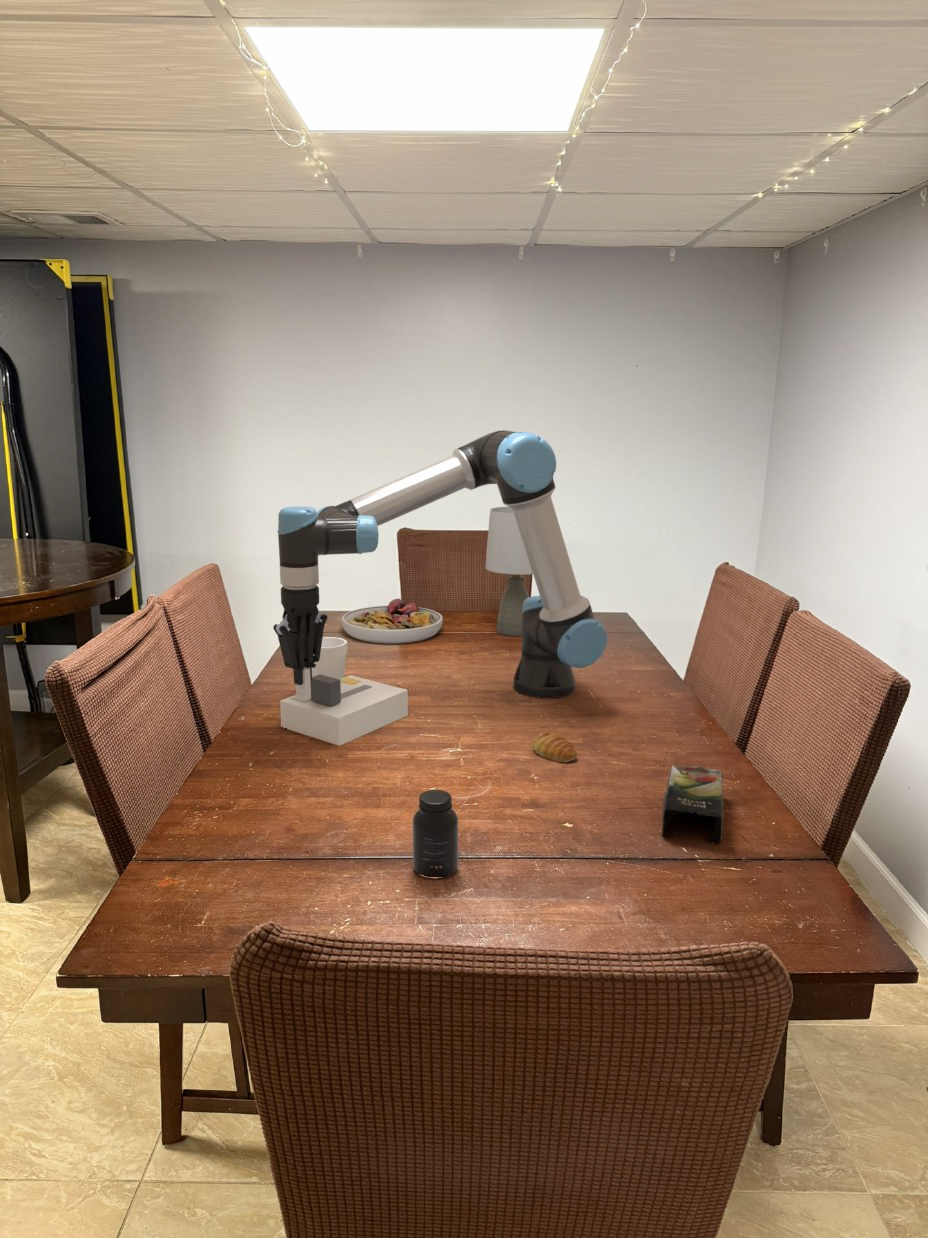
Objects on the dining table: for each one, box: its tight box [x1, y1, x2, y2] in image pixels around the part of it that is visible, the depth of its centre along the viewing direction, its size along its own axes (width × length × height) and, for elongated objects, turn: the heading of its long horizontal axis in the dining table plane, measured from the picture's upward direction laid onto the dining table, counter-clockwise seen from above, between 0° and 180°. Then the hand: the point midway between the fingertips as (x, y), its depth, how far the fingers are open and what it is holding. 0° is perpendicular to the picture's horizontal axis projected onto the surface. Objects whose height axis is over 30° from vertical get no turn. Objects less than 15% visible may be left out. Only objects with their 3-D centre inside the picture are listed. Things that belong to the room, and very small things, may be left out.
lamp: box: [484, 506, 533, 637], centre depth 261 cm, size 19×19×37 cm
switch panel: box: [279, 674, 409, 747], centre depth 191 cm, size 17×22×6 cm
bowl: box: [341, 598, 444, 645], centre depth 263 cm, size 30×30×8 cm
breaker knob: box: [310, 674, 341, 706], centre depth 185 cm, size 6×3×5 cm, turn 54°
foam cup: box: [312, 636, 348, 679], centre depth 206 cm, size 10×9×13 cm
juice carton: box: [661, 764, 725, 845], centre depth 150 cm, size 20×10×6 cm, turn 164°
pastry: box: [532, 731, 578, 764], centre depth 175 cm, size 9×7×4 cm
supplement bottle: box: [412, 789, 459, 878], centre depth 131 cm, size 7×7×12 cm
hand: (303, 698), depth 180 cm, fingers closed
